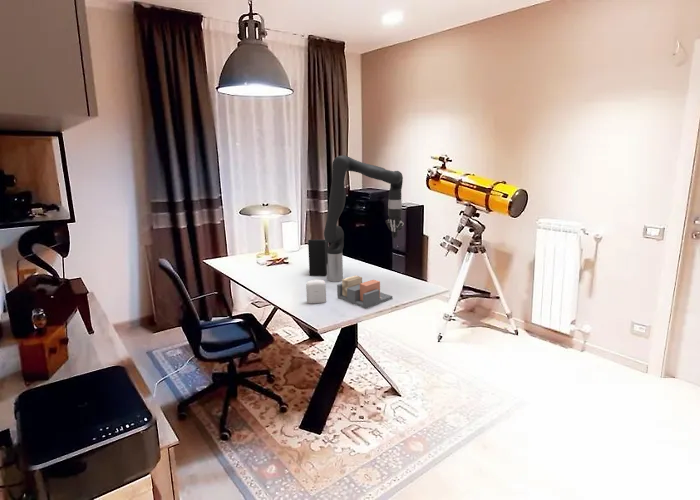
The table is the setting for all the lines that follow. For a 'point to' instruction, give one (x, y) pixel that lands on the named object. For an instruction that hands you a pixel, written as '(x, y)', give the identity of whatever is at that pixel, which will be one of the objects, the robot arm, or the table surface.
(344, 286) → the ash plug
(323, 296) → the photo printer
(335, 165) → the robot arm
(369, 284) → the terracotta plug
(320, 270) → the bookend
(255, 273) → the table surface
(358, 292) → the grey slotted tray
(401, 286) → the table surface
